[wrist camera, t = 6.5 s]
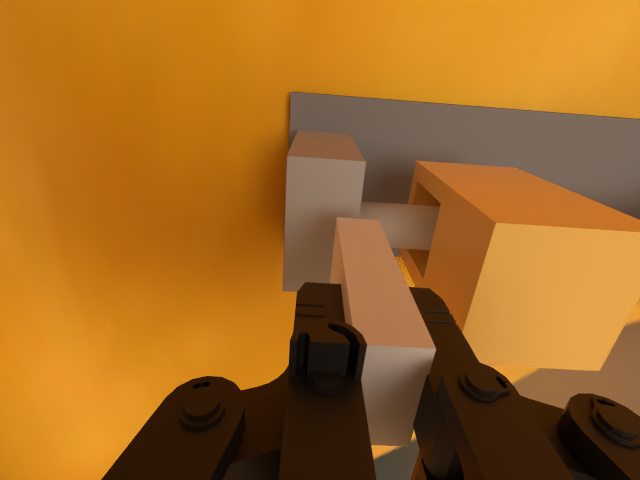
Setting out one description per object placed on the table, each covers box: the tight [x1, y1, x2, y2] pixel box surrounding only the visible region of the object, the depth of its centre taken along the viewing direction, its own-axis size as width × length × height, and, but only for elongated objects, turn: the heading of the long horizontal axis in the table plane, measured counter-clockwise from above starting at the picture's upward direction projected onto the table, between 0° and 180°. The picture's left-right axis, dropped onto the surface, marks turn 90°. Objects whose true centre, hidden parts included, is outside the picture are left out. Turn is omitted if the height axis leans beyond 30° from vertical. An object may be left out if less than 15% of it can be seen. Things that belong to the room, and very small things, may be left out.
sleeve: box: [399, 161, 640, 371], centre depth 14 cm, size 5×5×8 cm
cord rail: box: [283, 92, 640, 292], centre depth 18 cm, size 30×10×12 cm, turn 86°
